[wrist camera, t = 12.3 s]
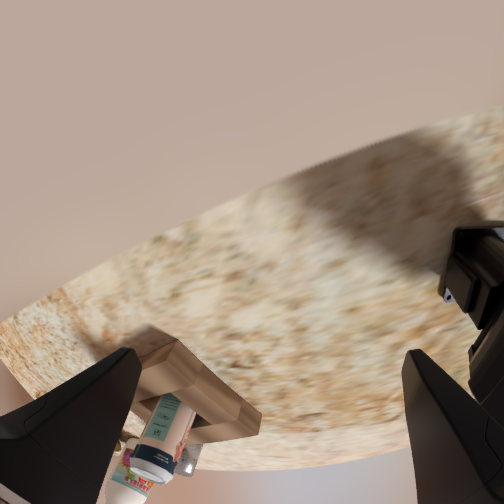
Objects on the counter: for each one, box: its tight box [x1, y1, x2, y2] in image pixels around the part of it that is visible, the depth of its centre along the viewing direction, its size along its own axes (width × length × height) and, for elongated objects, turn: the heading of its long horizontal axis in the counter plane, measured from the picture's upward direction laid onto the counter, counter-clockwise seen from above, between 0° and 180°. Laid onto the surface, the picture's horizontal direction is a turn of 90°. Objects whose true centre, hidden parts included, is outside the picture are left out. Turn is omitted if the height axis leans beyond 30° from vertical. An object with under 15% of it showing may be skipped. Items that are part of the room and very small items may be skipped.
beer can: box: [130, 392, 196, 484], centre depth 26 cm, size 5×5×12 cm
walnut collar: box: [130, 340, 262, 445], centre depth 30 cm, size 14×14×3 cm
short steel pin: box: [174, 444, 203, 477], centre depth 34 cm, size 4×4×6 cm
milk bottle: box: [105, 438, 154, 504], centre depth 34 cm, size 8×8×20 cm
